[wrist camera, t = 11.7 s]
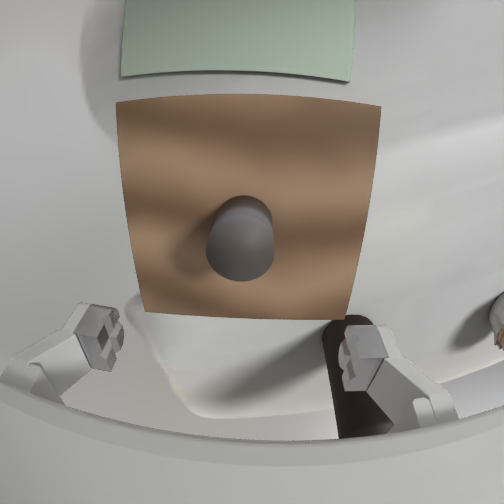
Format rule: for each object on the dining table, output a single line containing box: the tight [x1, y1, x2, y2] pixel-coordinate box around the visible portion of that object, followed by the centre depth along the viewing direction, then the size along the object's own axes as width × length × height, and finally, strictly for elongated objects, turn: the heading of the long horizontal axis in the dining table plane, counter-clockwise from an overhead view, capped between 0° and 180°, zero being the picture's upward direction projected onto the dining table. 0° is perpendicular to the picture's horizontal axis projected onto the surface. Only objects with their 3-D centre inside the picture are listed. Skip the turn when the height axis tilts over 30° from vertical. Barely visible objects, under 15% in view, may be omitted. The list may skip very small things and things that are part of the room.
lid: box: [116, 94, 381, 320], centre depth 18 cm, size 16×16×5 cm
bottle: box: [322, 315, 394, 439], centre depth 27 cm, size 7×7×20 cm
